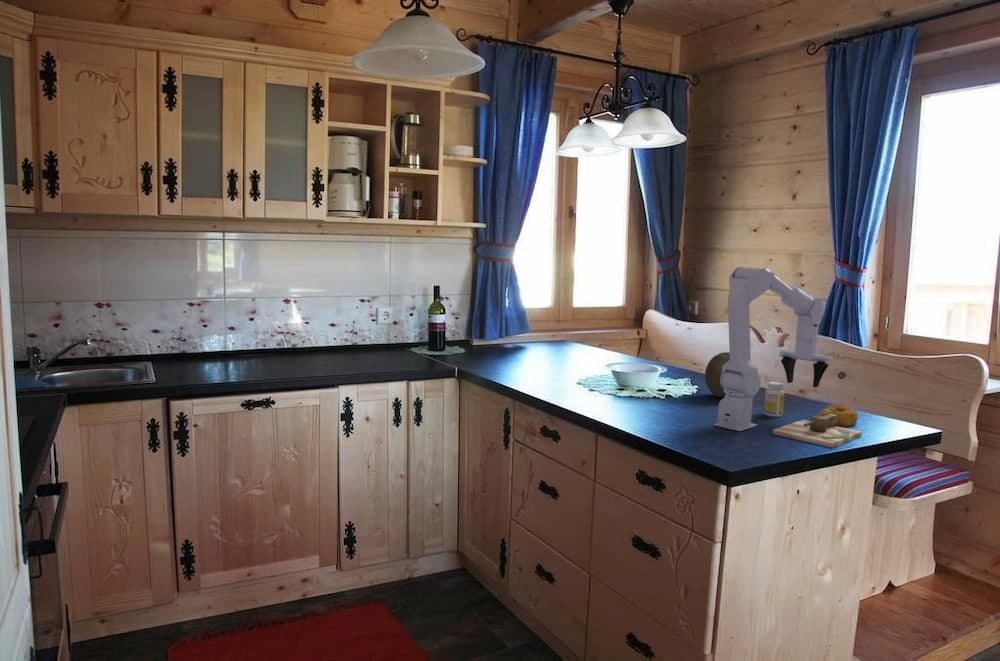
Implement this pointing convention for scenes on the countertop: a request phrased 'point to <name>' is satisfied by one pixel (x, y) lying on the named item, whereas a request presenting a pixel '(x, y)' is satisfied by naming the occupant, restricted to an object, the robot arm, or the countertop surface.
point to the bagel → (841, 414)
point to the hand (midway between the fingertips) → (802, 384)
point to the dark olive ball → (716, 373)
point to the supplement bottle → (774, 400)
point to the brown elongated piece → (821, 422)
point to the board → (817, 434)
